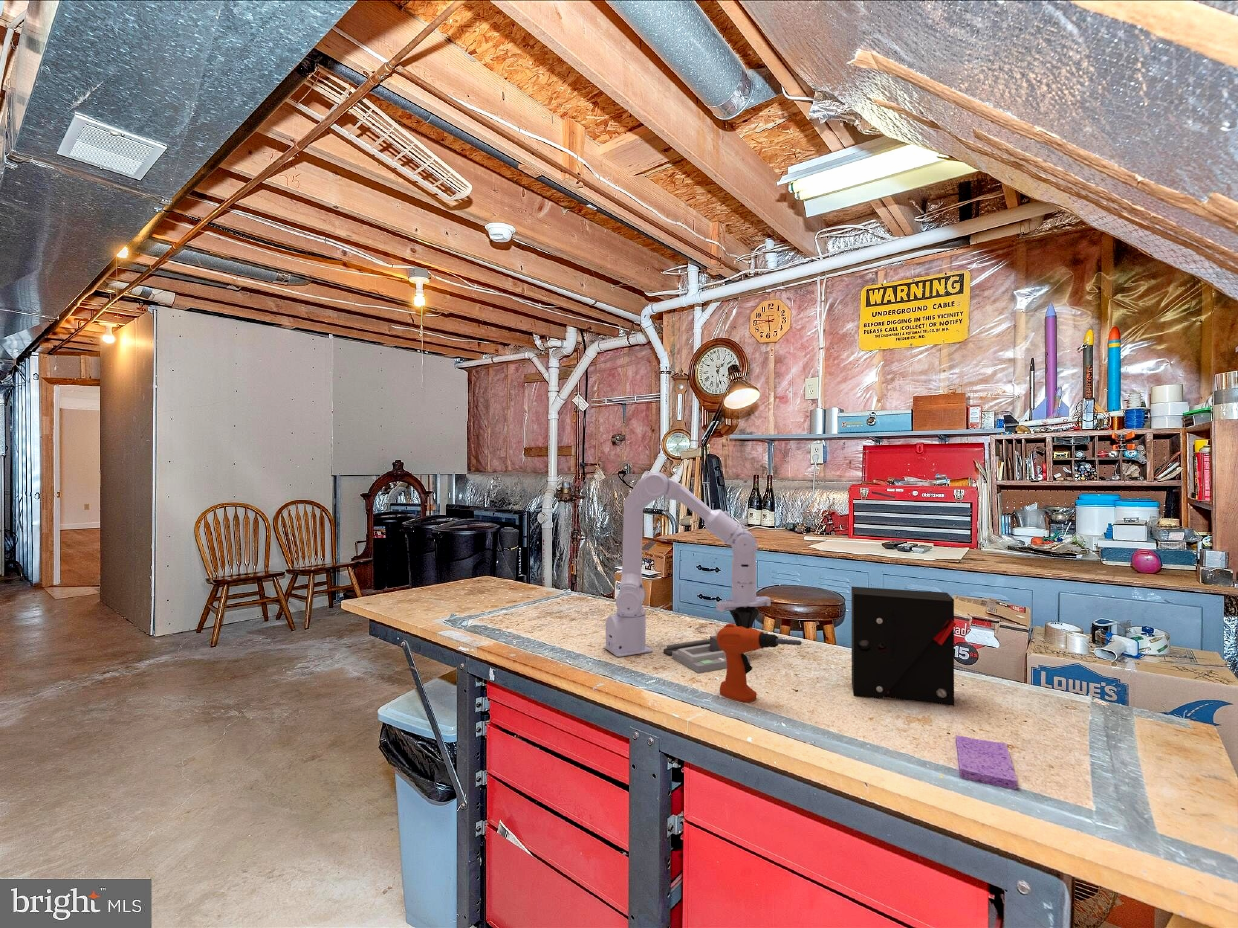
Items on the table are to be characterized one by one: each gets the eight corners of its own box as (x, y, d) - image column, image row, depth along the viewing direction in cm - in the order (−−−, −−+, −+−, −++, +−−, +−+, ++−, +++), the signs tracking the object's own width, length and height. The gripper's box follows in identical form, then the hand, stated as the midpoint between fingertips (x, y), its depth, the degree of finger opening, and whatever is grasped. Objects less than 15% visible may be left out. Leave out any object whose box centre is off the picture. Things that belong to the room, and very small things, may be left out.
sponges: (959, 780, 83) (959, 767, 83) (955, 743, 94) (955, 732, 94) (1018, 793, 80) (1018, 780, 80) (1006, 753, 91) (1006, 742, 91)
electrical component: (945, 689, 116) (944, 590, 116) (956, 709, 106) (956, 601, 106) (851, 679, 122) (850, 584, 122) (853, 697, 112) (853, 594, 112)
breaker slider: (718, 655, 132) (718, 633, 132) (710, 651, 135) (709, 630, 135) (732, 652, 134) (732, 631, 134) (724, 648, 137) (724, 628, 137)
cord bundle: (669, 656, 136) (669, 646, 136) (663, 652, 138) (663, 643, 138) (718, 648, 142) (718, 639, 142) (712, 645, 144) (712, 636, 144)
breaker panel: (698, 673, 125) (698, 660, 125) (672, 657, 135) (672, 646, 135) (750, 663, 131) (750, 651, 131) (721, 649, 141) (721, 638, 141)
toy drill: (804, 712, 102) (794, 629, 103) (715, 698, 113) (707, 624, 114) (814, 704, 105) (804, 624, 106) (727, 691, 117) (719, 620, 118)
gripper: (729, 587, 130) (729, 647, 130) (779, 581, 137) (779, 639, 137) (711, 581, 137) (711, 638, 137) (759, 576, 143) (759, 631, 143)
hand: (743, 638), depth 137 cm, fingers closed
